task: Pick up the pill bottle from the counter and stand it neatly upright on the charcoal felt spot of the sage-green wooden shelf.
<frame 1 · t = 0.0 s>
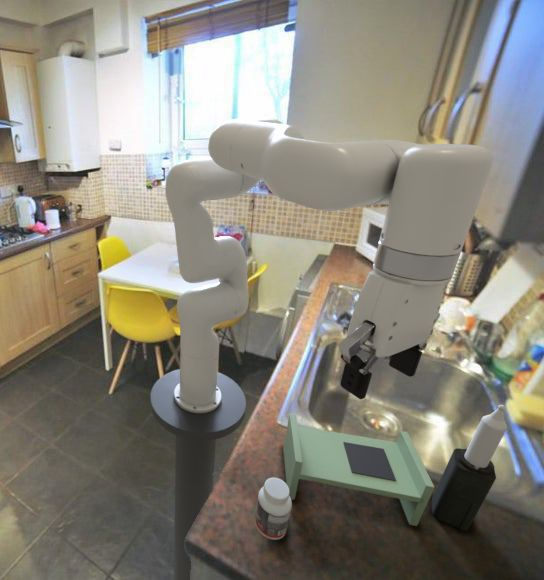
hand: (377, 381, 49), 33 cm above the worktop, tool pointing down, fingers open, 9 cm apart
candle: (449, 514, 65), on the worktop
pill bottle: (270, 526, 64), on the worktop
shelf: (342, 483, 71), on the worktop
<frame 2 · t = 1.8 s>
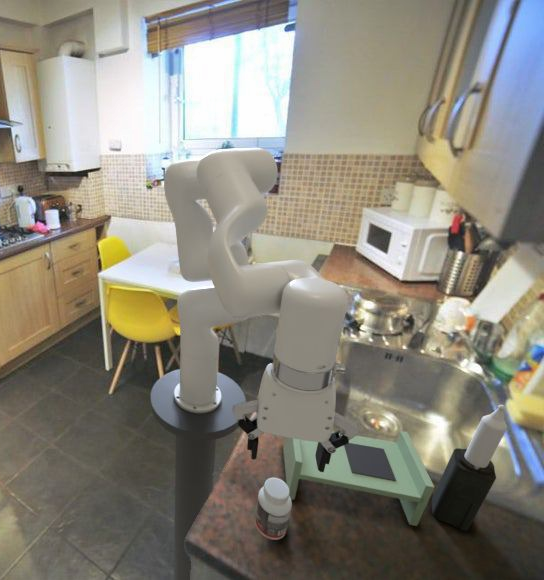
hand: (285, 458, 57), 17 cm above the worktop, tool pointing down, fingers open, 9 cm apart
nothing on the worktop moved.
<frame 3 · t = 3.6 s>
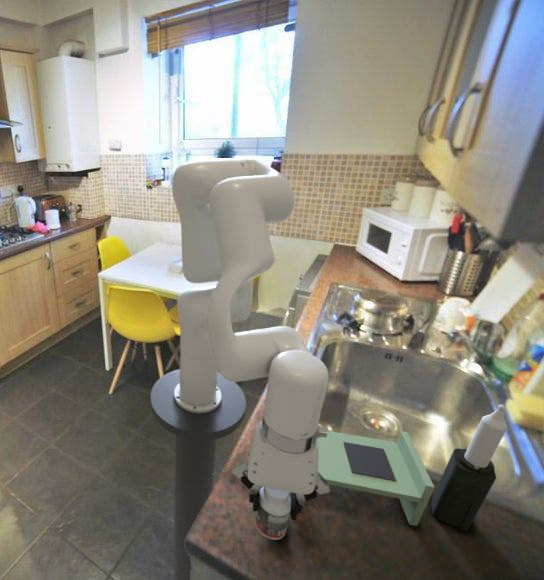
hand: (273, 507, 62), 5 cm above the worktop, tool pointing down, fingers closed on pill bottle, 5 cm apart
pill bottle: (270, 526, 64), on the worktop, touching gripper
everything else where it was.
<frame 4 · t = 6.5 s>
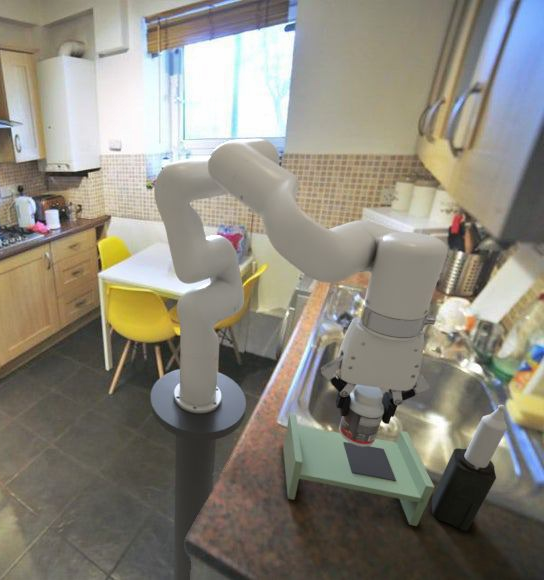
hand: (362, 413, 60), 20 cm above the worktop, tool pointing down, fingers closed on pill bottle, 5 cm apart
pill bottle: (355, 436, 62), point 15 cm above the worktop, touching gripper
everything else where it was.
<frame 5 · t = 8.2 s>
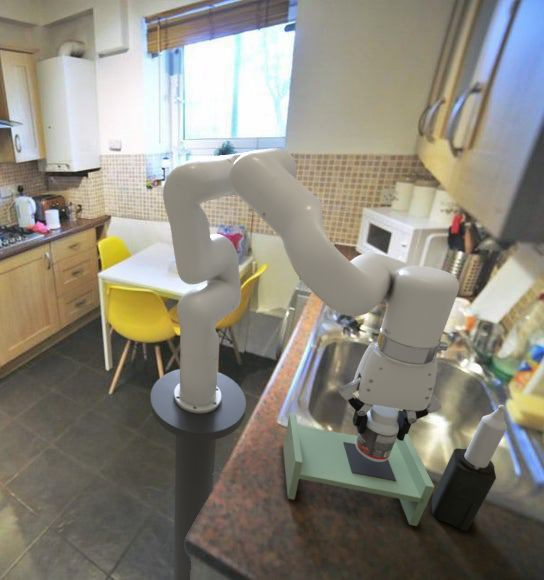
hand: (378, 430, 64), 15 cm above the worktop, tool pointing down, fingers closed on pill bottle, 5 cm apart
pill bottle: (371, 451, 66), point 9 cm above the worktop, touching gripper
everything else where it was.
when the fingers open (12 cm above the worktop, at t = 9.3 s): pill bottle stays where it is, resting on shelf.
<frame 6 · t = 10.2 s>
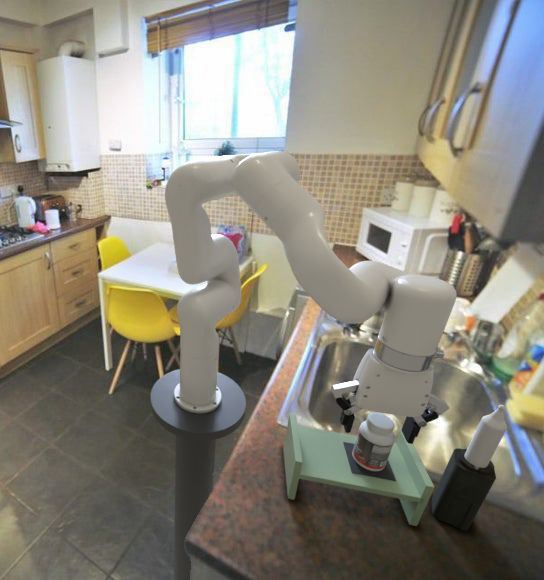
hand: (375, 432, 65), 14 cm above the worktop, tool pointing down, fingers open, 9 cm apart
pill bottle: (367, 460, 68), point 7 cm above the worktop, touching shelf
everything else where it was.
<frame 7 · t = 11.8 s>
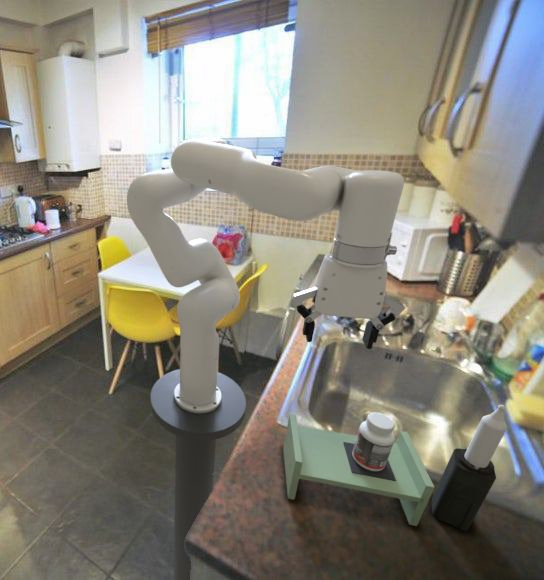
hand: (336, 341, 66), 28 cm above the worktop, tool pointing down, fingers open, 9 cm apart
nothing on the worktop moved.
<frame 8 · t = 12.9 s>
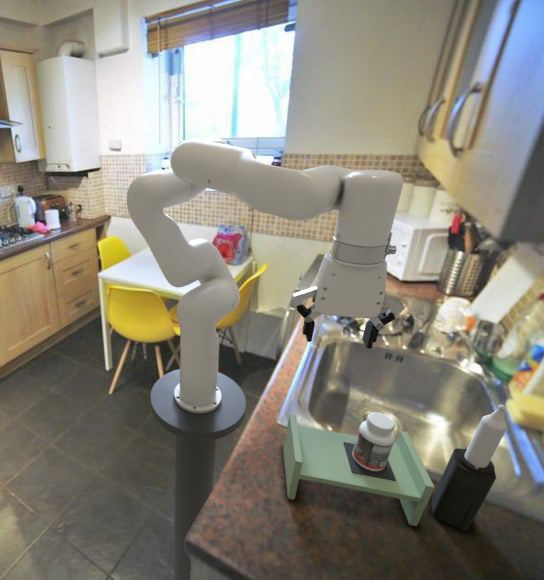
hand: (336, 341, 66), 28 cm above the worktop, tool pointing down, fingers open, 9 cm apart
nothing on the worktop moved.
at the end: pill bottle inside the target area on the shelf (0.1 cm from its centre), point 7.0 cm above the shelf's base; pill bottle tilted 0°; the gripper is holding nothing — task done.
